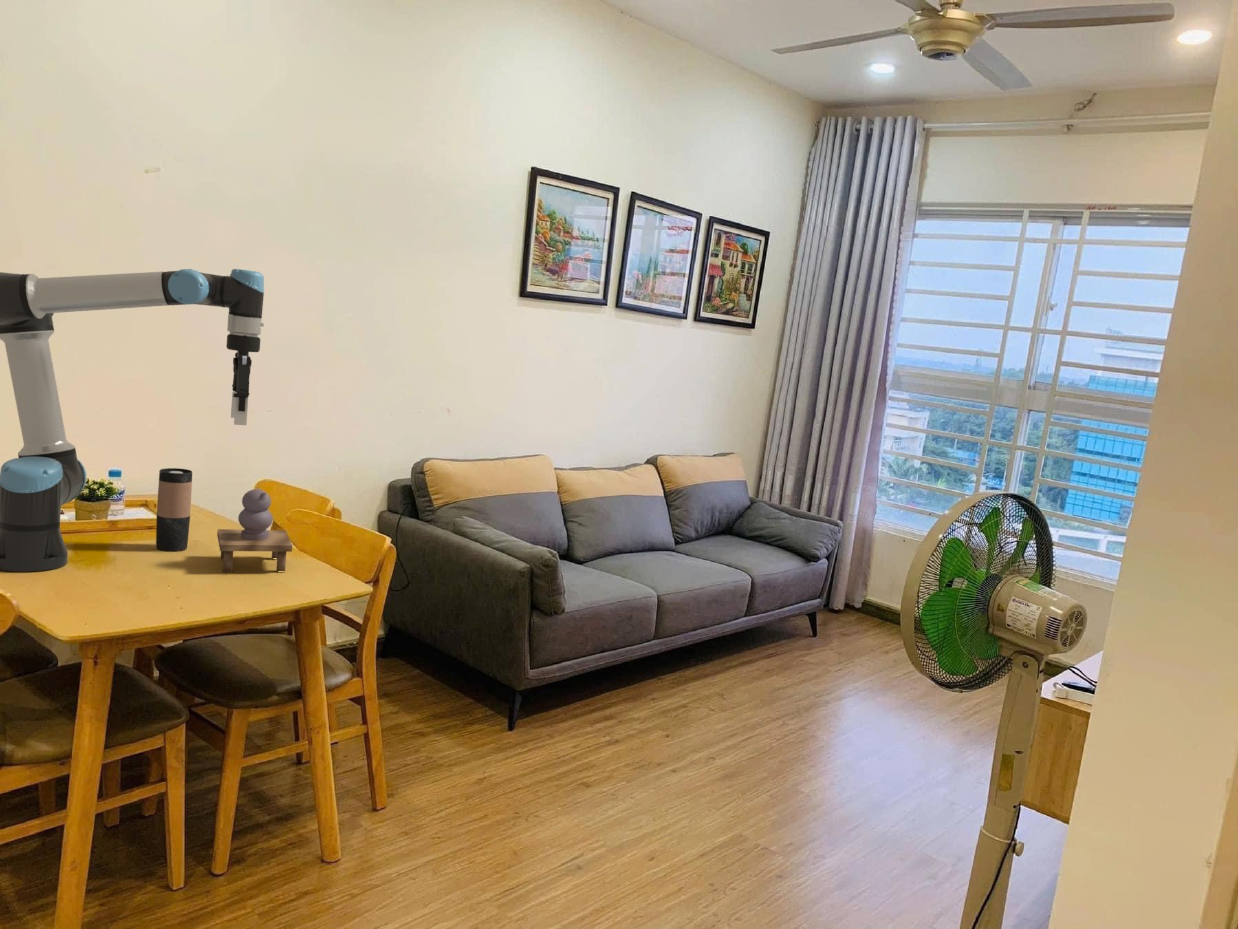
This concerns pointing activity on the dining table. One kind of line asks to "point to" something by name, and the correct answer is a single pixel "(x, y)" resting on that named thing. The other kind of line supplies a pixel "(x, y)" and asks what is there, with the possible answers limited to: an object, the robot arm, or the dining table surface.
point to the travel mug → (173, 509)
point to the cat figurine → (255, 515)
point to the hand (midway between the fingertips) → (238, 421)
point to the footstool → (253, 546)
